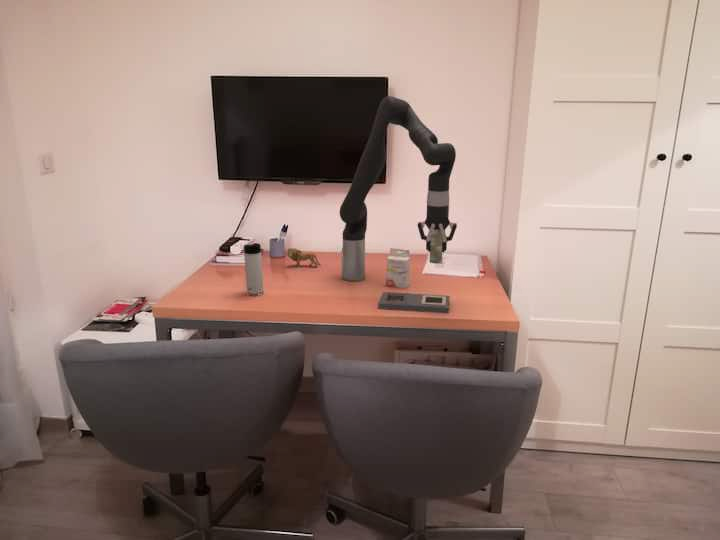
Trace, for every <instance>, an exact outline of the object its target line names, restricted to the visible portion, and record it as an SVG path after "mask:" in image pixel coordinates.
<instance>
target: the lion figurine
mask: <svg viewBox="0 0 720 540" xmlns="http://www.w3.org/2000/svg"><path fill="white" fill-rule="evenodd" d="M287 257H288V258H289V259H291V260H292V261H293V262H296V264H295V267H296V269H299V268H301V267H300V262H301V261H302V262H306V261H308V260H309V261H310V264H309V265H308V266H309V267H311V266H313V264H314V268H315V269H317V268H318V266H322V264H321V263H319V261H318V258H317V256H316V254H315V253H313V252H309V251H308V252H303V251H301V250H300V249H297V248H295V247H290V248H289V249H287Z"/></svg>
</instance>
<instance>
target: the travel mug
mask: <svg viewBox="0 0 720 540" xmlns="http://www.w3.org/2000/svg"><path fill="white" fill-rule="evenodd" d="M243 250H244V251H243V254H244V256H243V257H244V264H245V265H244V267H245V269H244V270H245V282H246V283H245V284H246V293H248V294H250V295H258V294H261V293H263V292H264V281H263V280H264V279H263V278H264V277H263V262H262V251H261V243H252V244H245V245H243ZM248 294H247V295H248ZM263 294H264V293H263ZM250 295H249V296H250Z"/></svg>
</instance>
